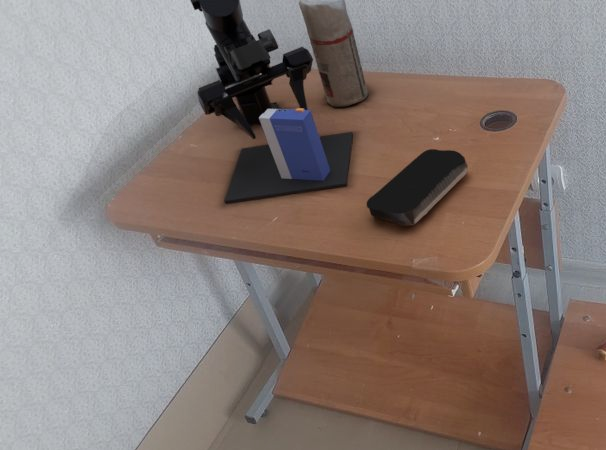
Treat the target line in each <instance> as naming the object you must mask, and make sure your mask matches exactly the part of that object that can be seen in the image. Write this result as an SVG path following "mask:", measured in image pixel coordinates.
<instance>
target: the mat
mask: <svg viewBox="0 0 606 450" xmlns="http://www.w3.org/2000/svg"><path fill="white" fill-rule="evenodd" d="M319 137H320V140H321V143H322V147H323V150H324V153H325V156H326V159H327V162H328V165H329V168H330V172H329V174H328V175H327V176H326V178H325V179H324V181H318V180H302V179H285V178H281V175H280V173H279V170H278V168H277V165H276V162H275V160H274V157H273V155H272V152H271V149H270V147H269V144H268V143H267V144H263V145H262V144H261V145H256V146H248V147H242V148H241V150H240V153H239V155H238V158H237V161H236V165H235V167H234V170H233V173H232V176H231V179H230V182H229V185H228V188H227V191H226V194H225V197H224V200H223V203H224V204H225V205H226V204H234V203H239V202H246V201H253V200H261V199H268V198H275V197H281V196H288V195H295V194H302V193H309V192H314V191H315V192H316V191H323V190H330V189H336V188H343V187H347V185H348V179H349V178H348V177H349V169H350V162H351V154H352V146H353V137H354V133H353V131H348V132H342V133H336V134H328V135H322V136H319Z"/></svg>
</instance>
